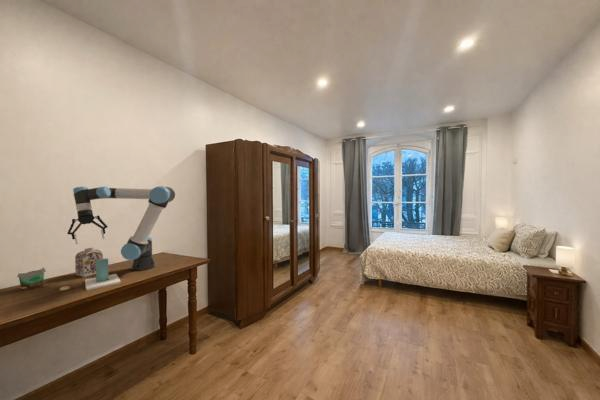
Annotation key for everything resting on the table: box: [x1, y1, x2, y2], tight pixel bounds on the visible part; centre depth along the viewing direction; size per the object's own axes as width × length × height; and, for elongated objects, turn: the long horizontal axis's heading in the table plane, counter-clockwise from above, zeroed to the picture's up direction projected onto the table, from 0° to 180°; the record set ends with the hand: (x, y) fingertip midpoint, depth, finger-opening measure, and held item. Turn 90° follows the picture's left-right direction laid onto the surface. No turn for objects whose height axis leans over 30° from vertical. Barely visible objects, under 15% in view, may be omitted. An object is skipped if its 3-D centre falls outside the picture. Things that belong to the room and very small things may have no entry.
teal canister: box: [95, 258, 110, 282], centre depth 151 cm, size 6×6×13 cm
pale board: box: [84, 273, 122, 291], centre depth 151 cm, size 16×20×1 cm
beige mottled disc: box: [59, 285, 71, 292], centre depth 141 cm, size 4×4×1 cm
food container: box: [16, 267, 47, 291], centre depth 145 cm, size 12×6×10 cm, turn 168°
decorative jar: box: [74, 247, 104, 278], centre depth 168 cm, size 12×12×18 cm
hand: (90, 241), depth 160 cm, fingers open, 13 cm apart
